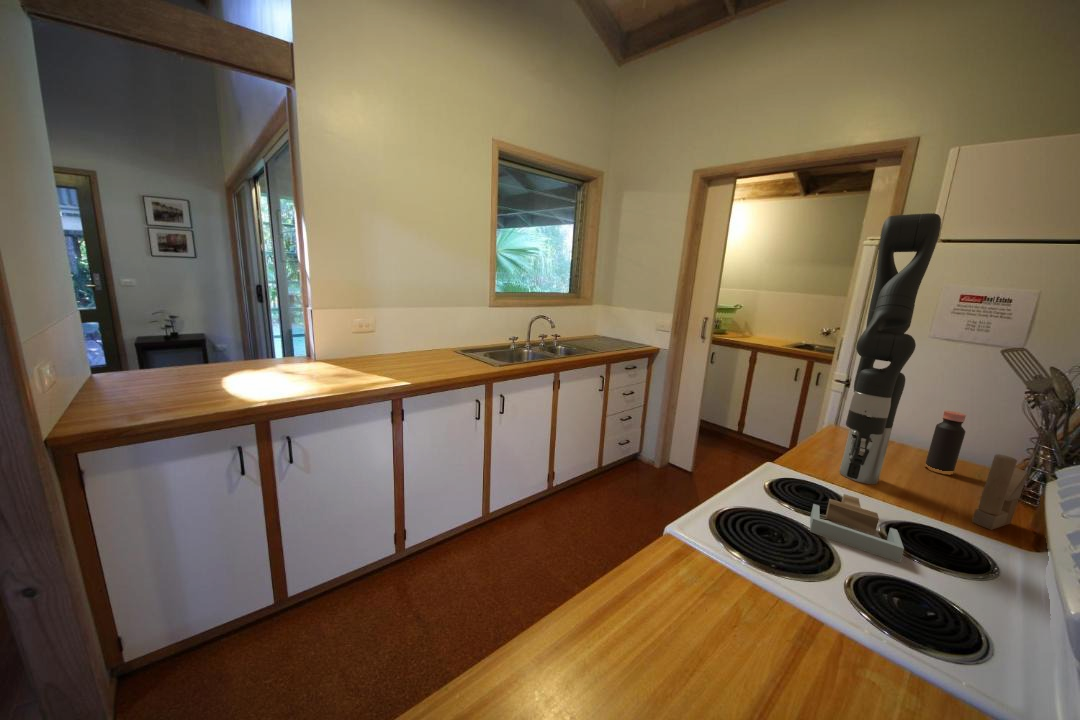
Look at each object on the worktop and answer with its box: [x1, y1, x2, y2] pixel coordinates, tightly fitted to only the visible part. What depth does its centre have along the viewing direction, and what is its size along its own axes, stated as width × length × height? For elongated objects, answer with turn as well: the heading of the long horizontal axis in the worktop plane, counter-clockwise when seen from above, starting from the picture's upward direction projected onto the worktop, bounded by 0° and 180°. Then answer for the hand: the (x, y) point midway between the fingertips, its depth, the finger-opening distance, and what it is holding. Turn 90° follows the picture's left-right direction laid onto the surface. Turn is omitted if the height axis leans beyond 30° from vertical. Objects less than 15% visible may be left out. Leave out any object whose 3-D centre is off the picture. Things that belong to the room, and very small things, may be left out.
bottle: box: [925, 410, 967, 472], centre depth 130 cm, size 7×7×20 cm
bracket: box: [809, 503, 905, 564], centre depth 88 cm, size 8×15×3 cm, turn 55°
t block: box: [825, 493, 880, 536], centre depth 96 cm, size 9×9×4 cm
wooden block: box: [971, 453, 1029, 531], centre depth 99 cm, size 4×11×18 cm, turn 113°
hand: (851, 477), depth 102 cm, fingers closed
